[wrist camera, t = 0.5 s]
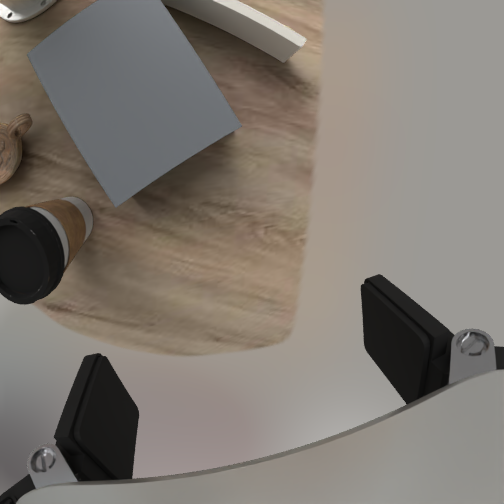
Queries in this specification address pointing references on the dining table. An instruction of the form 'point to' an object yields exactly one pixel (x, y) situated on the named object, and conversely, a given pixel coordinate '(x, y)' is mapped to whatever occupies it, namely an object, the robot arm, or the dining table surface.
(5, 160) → the oil lamp
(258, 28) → the door
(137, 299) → the dining table surface
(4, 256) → the coffee cup
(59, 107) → the cabinet
